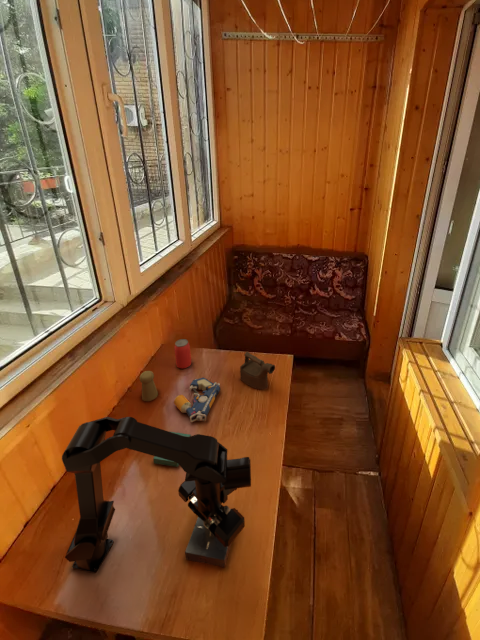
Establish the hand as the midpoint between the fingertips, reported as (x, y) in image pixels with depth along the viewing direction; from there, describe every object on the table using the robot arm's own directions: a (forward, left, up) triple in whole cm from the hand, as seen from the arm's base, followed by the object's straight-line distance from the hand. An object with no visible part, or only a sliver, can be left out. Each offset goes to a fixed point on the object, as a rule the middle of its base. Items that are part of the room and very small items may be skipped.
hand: (212, 527), depth 79 cm
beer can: (+62, +38, -4) cm, 73 cm away
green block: (+21, +22, -4) cm, 31 cm away
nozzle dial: (0, 0, -1) cm, 1 cm away
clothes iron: (+56, +2, -4) cm, 56 cm away
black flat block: (0, 0, -4) cm, 4 cm away
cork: (+42, +43, -4) cm, 60 cm away
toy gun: (+42, +23, -4) cm, 48 cm away
